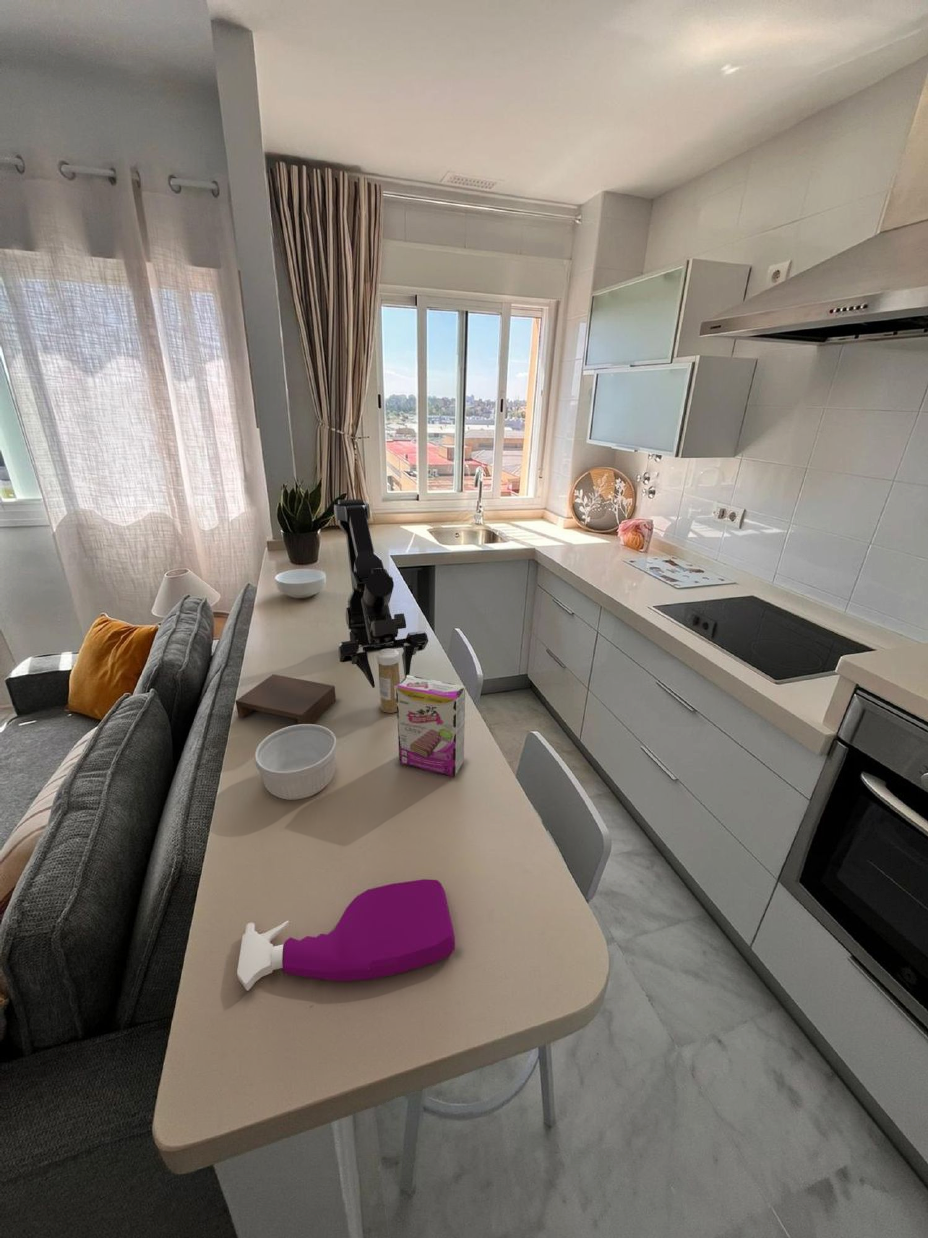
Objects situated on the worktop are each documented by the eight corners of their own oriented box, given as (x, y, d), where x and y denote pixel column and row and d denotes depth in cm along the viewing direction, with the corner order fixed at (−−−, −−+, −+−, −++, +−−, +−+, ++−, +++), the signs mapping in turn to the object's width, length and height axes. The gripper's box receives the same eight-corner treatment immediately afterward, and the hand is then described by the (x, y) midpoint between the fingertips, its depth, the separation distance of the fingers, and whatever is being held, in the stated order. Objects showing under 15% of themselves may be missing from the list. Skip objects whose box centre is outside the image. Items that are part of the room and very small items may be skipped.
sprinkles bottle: (405, 709, 107) (402, 653, 101) (385, 716, 104) (382, 659, 99) (395, 700, 110) (393, 645, 105) (376, 706, 108) (373, 650, 103)
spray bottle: (458, 965, 57) (232, 1020, 52) (441, 884, 67) (249, 923, 62) (458, 948, 56) (227, 1002, 51) (440, 868, 66) (245, 907, 61)
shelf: (275, 689, 114) (273, 674, 112) (336, 701, 109) (334, 685, 108) (238, 717, 103) (235, 700, 102) (303, 732, 99) (301, 715, 97)
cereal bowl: (319, 603, 165) (317, 583, 162) (269, 602, 165) (266, 582, 162) (332, 587, 181) (330, 568, 178) (287, 586, 181) (284, 567, 178)
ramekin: (296, 818, 78) (290, 783, 75) (243, 787, 84) (236, 753, 82) (355, 771, 88) (352, 739, 86) (304, 746, 95) (300, 715, 92)
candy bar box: (398, 765, 90) (393, 687, 83) (409, 749, 94) (406, 673, 88) (455, 779, 86) (456, 699, 80) (465, 762, 91) (466, 684, 84)
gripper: (335, 606, 99) (347, 680, 93) (425, 596, 105) (441, 665, 99) (333, 627, 108) (345, 696, 103) (416, 617, 114) (430, 681, 109)
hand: (390, 684), depth 103 cm, fingers open, 7 cm apart
